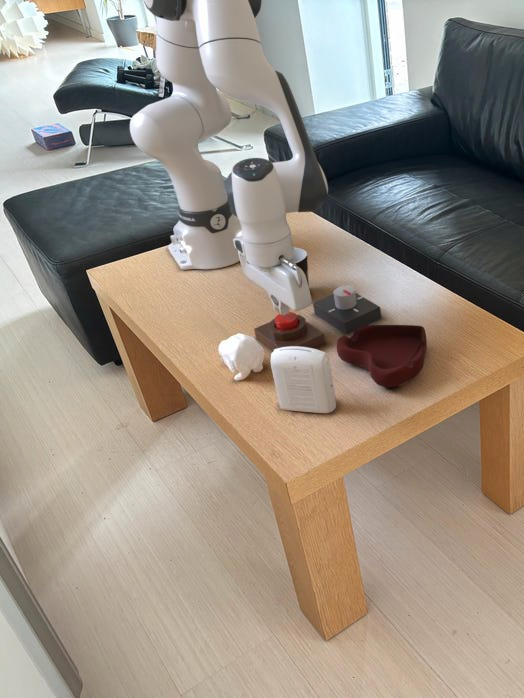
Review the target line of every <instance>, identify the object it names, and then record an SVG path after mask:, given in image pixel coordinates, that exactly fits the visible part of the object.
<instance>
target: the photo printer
mask: <svg viewBox="0 0 524 698" xmlns="http://www.w3.org/2000/svg"><path fill="white" fill-rule="evenodd" d="M331 367H332V366H331V360H330V356H329V354H328V353H327V352H325V351H322V350H321V349H320V350H319V349H318V348H317V349H313V348H308V347H298V346H290V347H282V348H278V349H275V350H274V351H273V352H272V351H271V353H270V369H271V373H272V377H273V382H274V387H275V391H276V395H277V400H278V405H279V408H280V410H285V411H293V412H303V413H315V414H329V413H332V412H333V411H335V409H336V408H337V403H336V393H335V387H334V380H333V374H332V373H333V372H332V368H331Z"/></svg>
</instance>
